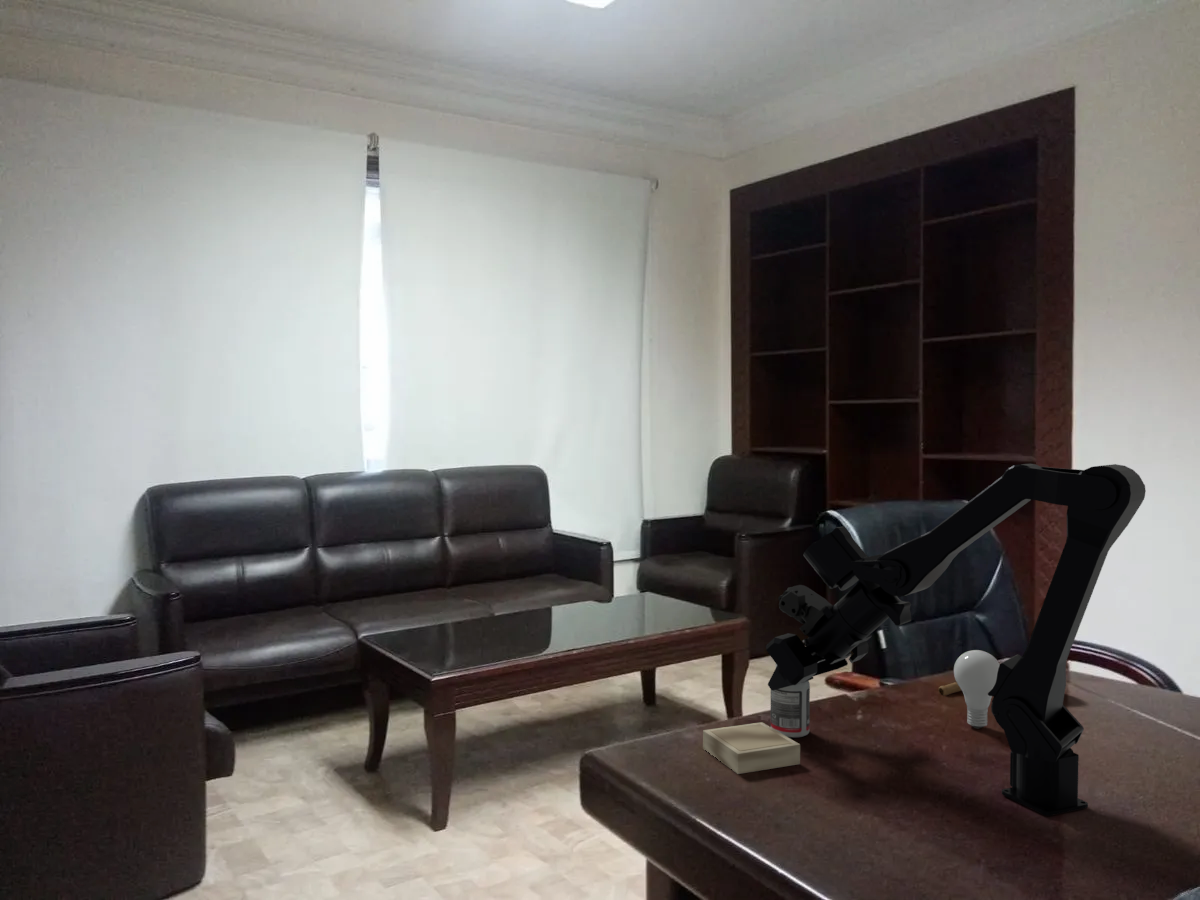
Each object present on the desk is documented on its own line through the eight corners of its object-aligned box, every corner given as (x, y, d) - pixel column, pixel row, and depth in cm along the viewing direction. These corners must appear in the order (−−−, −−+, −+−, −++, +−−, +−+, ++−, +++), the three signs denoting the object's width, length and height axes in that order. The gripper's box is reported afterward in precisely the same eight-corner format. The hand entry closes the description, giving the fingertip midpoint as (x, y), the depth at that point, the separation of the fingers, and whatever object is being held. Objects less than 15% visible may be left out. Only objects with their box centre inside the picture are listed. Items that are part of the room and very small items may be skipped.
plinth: (799, 764, 111) (800, 744, 111) (737, 774, 107) (738, 753, 107) (761, 740, 119) (761, 721, 119) (702, 749, 116) (703, 729, 116)
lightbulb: (1009, 735, 121) (1010, 656, 121) (963, 735, 121) (964, 656, 121) (990, 720, 128) (991, 645, 127) (946, 719, 128) (947, 645, 128)
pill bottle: (786, 722, 126) (787, 655, 126) (817, 732, 122) (818, 663, 122) (762, 731, 123) (762, 661, 123) (792, 741, 119) (793, 669, 118)
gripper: (849, 561, 126) (782, 625, 134) (779, 577, 112) (709, 647, 120) (901, 624, 121) (828, 687, 129) (834, 648, 107) (757, 717, 115)
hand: (781, 683), depth 123 cm, fingers closed on pill bottle, 5 cm apart
